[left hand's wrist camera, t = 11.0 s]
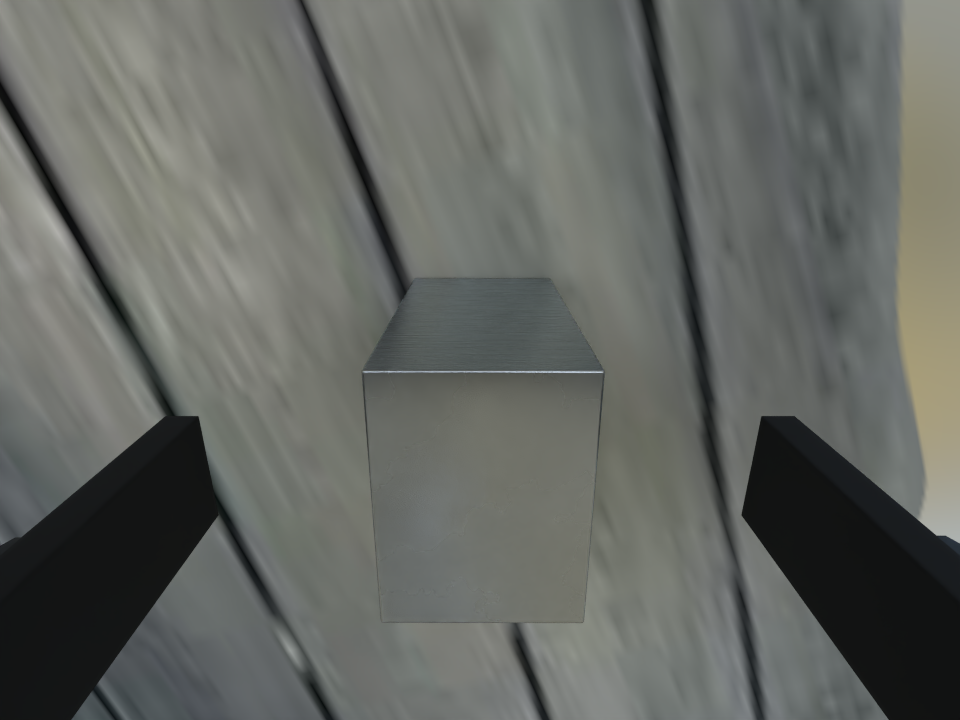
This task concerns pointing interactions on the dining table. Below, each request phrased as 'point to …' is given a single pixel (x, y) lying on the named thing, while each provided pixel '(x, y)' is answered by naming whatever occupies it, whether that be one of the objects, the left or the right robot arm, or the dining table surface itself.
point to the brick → (482, 454)
